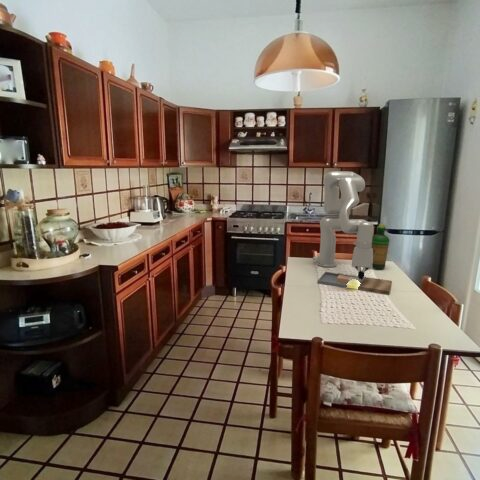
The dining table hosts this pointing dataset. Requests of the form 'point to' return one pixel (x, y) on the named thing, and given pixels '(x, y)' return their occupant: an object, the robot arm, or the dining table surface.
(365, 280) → the walnut board
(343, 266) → the dining table surface
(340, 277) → the terracotta tile
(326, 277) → the box
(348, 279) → the cream tile
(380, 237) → the bottle
